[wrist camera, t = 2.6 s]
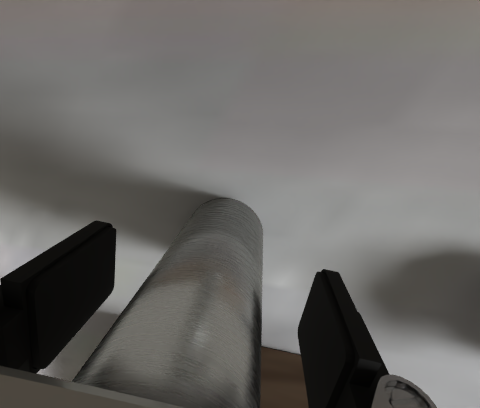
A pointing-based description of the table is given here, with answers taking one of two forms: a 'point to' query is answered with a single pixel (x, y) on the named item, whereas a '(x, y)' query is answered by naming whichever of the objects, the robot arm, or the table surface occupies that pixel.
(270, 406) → the socket block
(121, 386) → the peg
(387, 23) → the table surface
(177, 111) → the table surface
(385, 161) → the table surface
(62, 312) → the robot arm
